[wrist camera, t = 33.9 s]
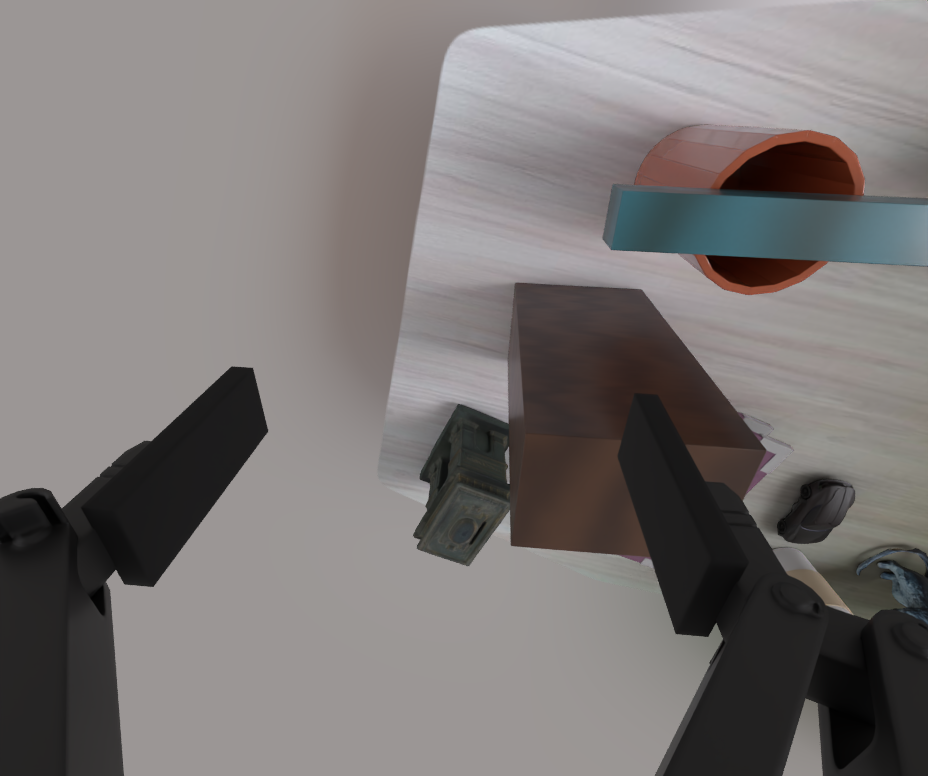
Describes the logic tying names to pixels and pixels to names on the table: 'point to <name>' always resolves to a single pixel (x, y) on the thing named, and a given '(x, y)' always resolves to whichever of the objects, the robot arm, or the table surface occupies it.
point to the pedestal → (602, 414)
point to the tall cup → (753, 186)
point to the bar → (768, 224)
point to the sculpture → (905, 583)
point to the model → (465, 486)
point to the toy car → (817, 511)
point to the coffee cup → (809, 576)
